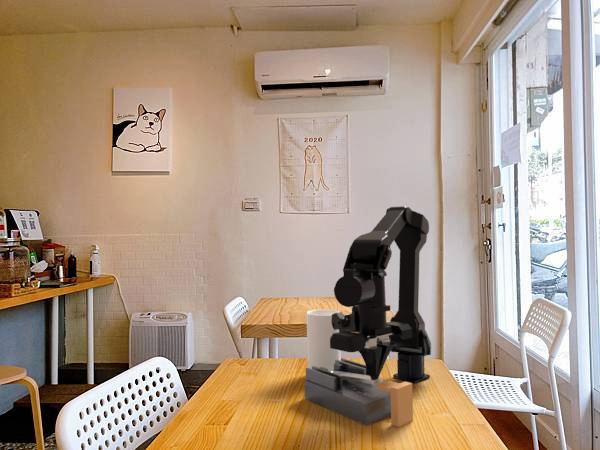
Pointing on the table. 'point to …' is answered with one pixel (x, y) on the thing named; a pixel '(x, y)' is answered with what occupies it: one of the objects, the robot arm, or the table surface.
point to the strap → (358, 377)
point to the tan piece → (399, 401)
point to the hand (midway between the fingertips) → (374, 379)
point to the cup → (321, 339)
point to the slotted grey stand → (347, 393)
